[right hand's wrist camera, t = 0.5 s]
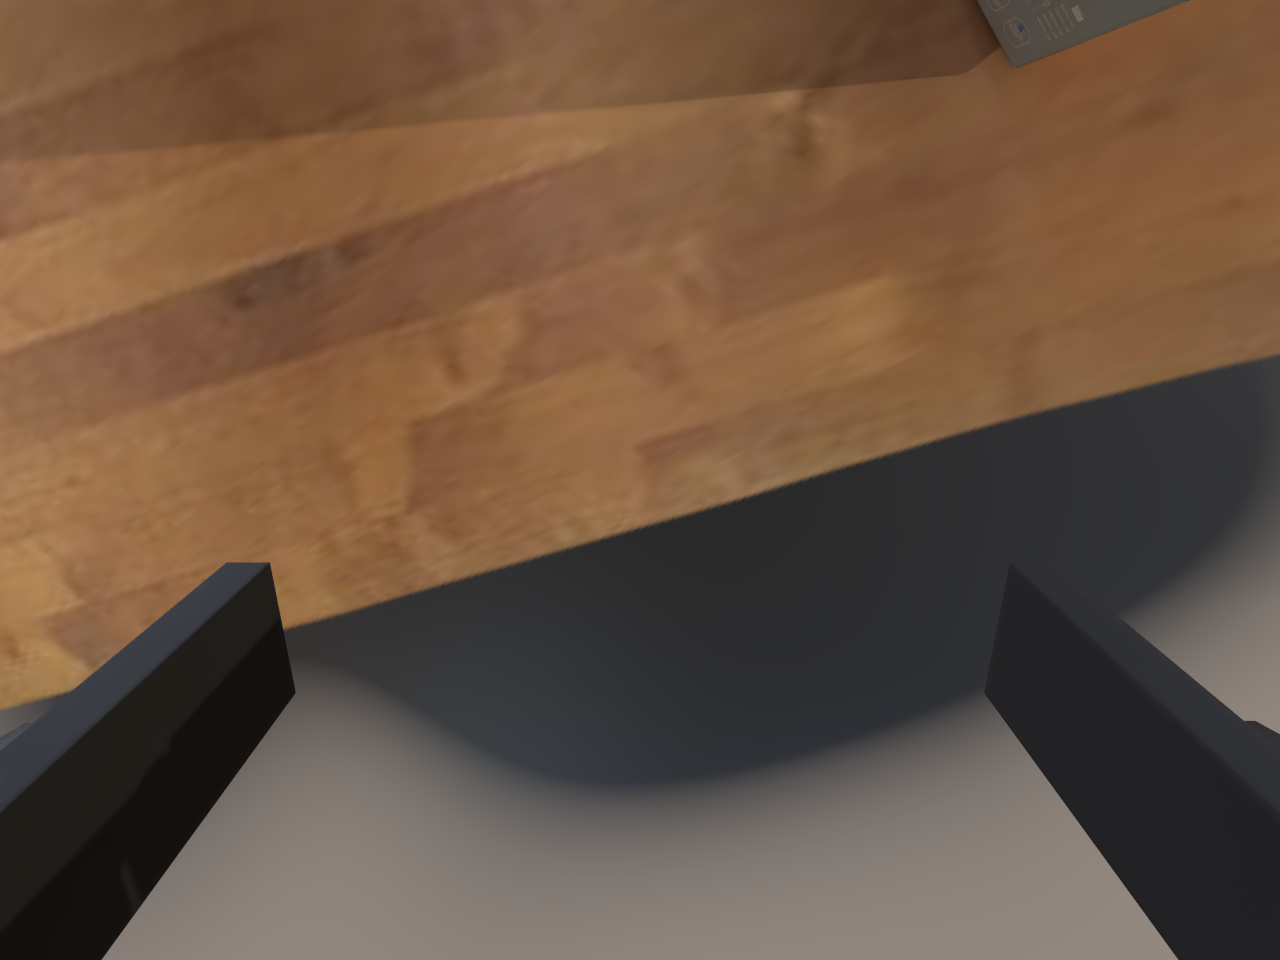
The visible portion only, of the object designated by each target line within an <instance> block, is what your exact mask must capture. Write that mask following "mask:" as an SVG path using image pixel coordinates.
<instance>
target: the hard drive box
mask: <svg viewBox="0 0 1280 960" xmlns="http://www.w3.org/2000/svg"><path fill="white" fill-rule="evenodd" d="M1187 1H1189V0H977V2H978V4H979V5H980V7H981V9H982V11H983V13H984V15H985V16H986V18H987V20H988V22H989V24H990V26H991V28H992V29H993V31H994V33H995V35H996V37H997V39H998V41H999V42H1000V44H1001V46H1002V48H1003V50H1004V51H1005V53H1006V55H1007V57H1008V59H1009V60H1010V62H1011V63H1012V65H1013V67H1015V68H1018V67H1021V66H1023V65H1026V64H1028V63H1031V62H1034V61H1036V60H1039V59H1042V58H1044V57H1047V56H1050V55H1052V54H1055V53H1058V52H1060V51H1063V50H1065V49H1068V48H1070V47H1073V46H1075V45H1078V44H1081V43H1083V42H1086V41H1088V40H1091V39H1093V38H1095V37H1098V36H1100V35H1103V34H1106V33H1108V32H1111V31H1113V30H1116V29H1118V28H1121V27H1123V26H1126V25H1128V24H1131V23H1133V22H1136V21H1139V20H1141V19H1144V18H1146V17H1149V16H1151V15H1154V14H1156V13H1159V12H1161V11H1164V10H1166V9H1169V8H1171V7H1174V6H1176V5H1179V4H1182V3H1184V2H1187Z"/></svg>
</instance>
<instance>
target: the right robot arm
mask: <svg viewBox="0 0 1280 960" xmlns="http://www.w3.org/2000/svg"><path fill="white" fill-rule="evenodd" d="M294 694H295V687H294V682H293V677H292V672H291V667H290V662H289V657H288V652H287V647H286V642H285V637H284V632H283V627H282V622H281V617H280V612H279V607H278V602H277V597H276V592H275V586H274V581H273V576H272V571H271V566H270V563H226V564H224V565H223V566H222V567H221V568H220V569H218V570H217V571H216V572H215V573H214V574H212V575H211V576H210V577H209V578H208V579H206V580H205V581H204V582H203V583H201V584H200V585H199V586H198V587H197V588H195V589H194V590H193V591H192V592H191V593H189V594H188V595H187V596H186V597H185V598H183V599H182V600H181V601H180V602H179V603H177V604H176V605H175V606H174V607H173V608H171V609H170V610H169V611H168V612H167V613H165V614H164V615H163V616H162V617H161V618H159V619H158V620H157V621H156V622H155V623H153V624H152V625H151V626H150V627H149V628H147V629H146V630H145V631H144V632H143V633H141V634H140V635H139V636H138V637H136V638H135V639H134V640H133V641H132V642H130V643H129V644H128V645H127V646H126V647H124V648H123V649H122V650H121V651H120V652H118V653H117V654H116V655H115V656H114V657H112V658H111V659H110V660H109V661H108V662H106V663H105V664H104V665H103V666H102V667H100V668H99V669H98V670H97V671H96V672H94V673H93V674H92V675H91V676H90V677H88V678H87V679H86V680H85V681H84V682H82V683H81V684H80V685H79V686H78V687H76V688H75V689H74V690H73V691H72V692H70V693H69V694H68V695H67V696H65V697H64V698H63V699H62V700H61V701H59V702H58V703H57V704H56V705H55V706H54V707H52V708H51V709H50V710H49V711H47V712H46V713H45V714H44V715H43V716H41V717H40V718H39V719H38V720H37V721H35V722H34V723H33V724H24V725H22V726H20V727H18V728H17V729H15V730H13V731H11V732H9V733H7V734H6V735H4V736H2V737H0V960H102V958H103V957H104V956H105V954H106V953H107V951H108V950H109V949H110V947H111V946H112V945H113V943H114V942H115V940H116V939H117V938H118V936H119V935H120V934H121V932H122V931H123V929H124V928H125V927H126V925H127V924H128V923H129V921H130V920H131V918H132V917H133V916H134V914H135V913H136V912H137V910H138V909H139V907H140V906H141V905H142V903H143V902H144V901H145V899H146V898H147V896H148V895H149V894H150V892H151V891H152V890H153V888H154V887H155V885H156V884H157V883H158V881H159V880H160V879H161V877H162V876H163V874H164V873H165V872H166V870H167V869H168V868H169V866H170V865H171V863H172V862H173V861H174V859H175V858H176V857H177V855H178V854H179V852H180V851H181V850H182V848H183V847H184V846H185V844H186V843H187V841H188V840H189V839H190V837H191V836H192V835H193V833H194V832H195V830H196V829H197V828H198V826H199V825H200V824H201V822H202V821H203V819H204V818H205V817H206V815H207V814H208V813H209V811H210V810H211V808H212V807H213V806H214V804H215V803H216V802H217V800H218V799H219V797H220V796H221V795H222V793H223V792H224V790H225V789H226V788H227V786H228V785H229V784H230V782H231V781H232V780H233V778H234V777H235V775H236V774H237V773H238V771H239V770H240V769H241V767H242V766H243V764H244V763H245V762H246V760H247V759H248V757H249V756H250V755H251V753H252V752H253V751H254V749H255V748H256V747H257V745H258V744H259V742H260V741H261V740H262V738H263V737H264V736H265V734H266V733H267V731H268V730H269V729H270V727H271V726H272V724H273V723H274V722H275V720H276V719H277V718H278V716H279V715H280V714H281V712H282V711H283V709H284V708H285V707H286V705H287V704H288V703H289V701H290V700H291V698H292V697H293V696H294ZM985 694H986V696H987V697H988V698H989V700H990V701H991V703H992V704H993V705H994V707H995V708H996V709H997V711H998V712H999V714H1000V715H1001V716H1002V718H1003V719H1004V720H1005V722H1006V723H1007V724H1008V726H1009V727H1010V729H1011V730H1012V731H1013V733H1014V734H1015V736H1016V737H1017V738H1018V740H1019V741H1020V742H1021V744H1022V745H1023V746H1024V748H1025V749H1026V751H1027V752H1028V753H1029V755H1030V756H1031V757H1032V759H1033V760H1034V762H1035V763H1036V764H1037V766H1038V767H1039V769H1040V770H1041V771H1042V773H1043V774H1044V775H1045V777H1046V778H1047V780H1048V781H1049V782H1050V784H1051V785H1052V786H1053V788H1054V789H1055V791H1056V792H1057V793H1058V795H1059V796H1060V797H1061V799H1062V800H1063V802H1064V803H1065V804H1066V806H1067V807H1068V808H1069V810H1070V811H1071V813H1072V814H1073V815H1074V817H1075V818H1076V819H1077V821H1078V822H1079V824H1080V825H1081V826H1082V828H1083V829H1084V830H1085V832H1086V833H1087V835H1088V836H1089V837H1090V839H1091V840H1092V841H1093V843H1094V844H1095V845H1096V847H1097V848H1098V850H1099V851H1100V852H1101V854H1102V855H1103V857H1104V858H1105V859H1106V861H1107V862H1108V863H1109V865H1110V866H1111V867H1112V869H1113V870H1114V872H1115V873H1116V874H1117V876H1118V877H1119V878H1120V880H1121V881H1122V883H1123V884H1124V885H1125V887H1126V888H1127V890H1128V891H1129V892H1130V894H1131V895H1132V896H1133V898H1134V899H1135V901H1136V902H1137V903H1138V905H1139V906H1140V907H1141V909H1142V910H1143V912H1144V913H1145V914H1146V916H1147V917H1148V918H1149V920H1150V921H1151V923H1152V924H1153V925H1154V927H1155V928H1156V929H1157V931H1158V932H1159V934H1160V935H1161V936H1162V938H1163V939H1164V940H1165V942H1166V943H1167V945H1168V946H1169V947H1170V949H1171V950H1172V951H1173V953H1174V954H1175V956H1176V957H1177V958H1178V960H1280V734H1278V733H1276V732H1274V731H1273V730H1271V729H1269V728H1267V727H1265V726H1263V725H1262V724H1260V723H1258V722H1256V721H1243V720H1242V719H1241V718H1240V717H1239V716H1237V715H1236V714H1235V713H1234V712H1233V711H1231V710H1230V709H1229V708H1228V707H1227V706H1225V705H1224V704H1223V703H1222V702H1221V701H1219V700H1218V699H1217V698H1216V697H1215V696H1213V695H1212V694H1211V693H1210V692H1208V691H1207V690H1206V689H1205V688H1204V687H1202V686H1201V685H1200V684H1199V683H1198V682H1196V681H1195V680H1194V679H1193V678H1192V677H1190V676H1189V675H1188V674H1187V673H1186V672H1184V671H1183V670H1182V669H1181V668H1180V667H1178V666H1177V665H1176V664H1175V663H1174V662H1172V661H1171V660H1170V659H1169V658H1168V657H1166V656H1165V655H1164V654H1163V653H1162V652H1160V651H1159V650H1158V649H1157V648H1156V647H1154V646H1153V645H1152V644H1151V643H1150V642H1148V641H1147V640H1146V639H1145V638H1143V637H1142V636H1141V635H1140V634H1139V633H1137V632H1136V631H1135V630H1134V629H1133V628H1131V627H1130V626H1129V625H1128V624H1127V623H1125V622H1124V621H1123V620H1122V619H1121V618H1119V617H1118V616H1117V615H1116V614H1115V613H1113V612H1112V611H1111V610H1110V609H1109V608H1107V607H1106V606H1105V605H1104V604H1102V603H1101V602H1100V601H1099V600H1098V599H1097V598H1095V597H1094V596H1093V595H1092V594H1091V593H1089V592H1088V591H1087V590H1086V589H1085V588H1083V587H1082V586H1081V585H1080V584H1079V583H1077V582H1076V581H1075V580H1074V579H1072V578H1071V577H1070V576H1069V575H1068V574H1066V573H1065V572H1064V571H1063V570H1062V569H1060V568H1059V567H1058V566H1057V565H1056V564H1054V563H1010V566H1009V571H1008V577H1007V582H1006V586H1005V592H1004V597H1003V602H1002V607H1001V612H1000V617H999V622H998V627H997V632H996V637H995V642H994V647H993V652H992V657H991V662H990V667H989V672H988V677H987V682H986V687H985Z"/></svg>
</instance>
